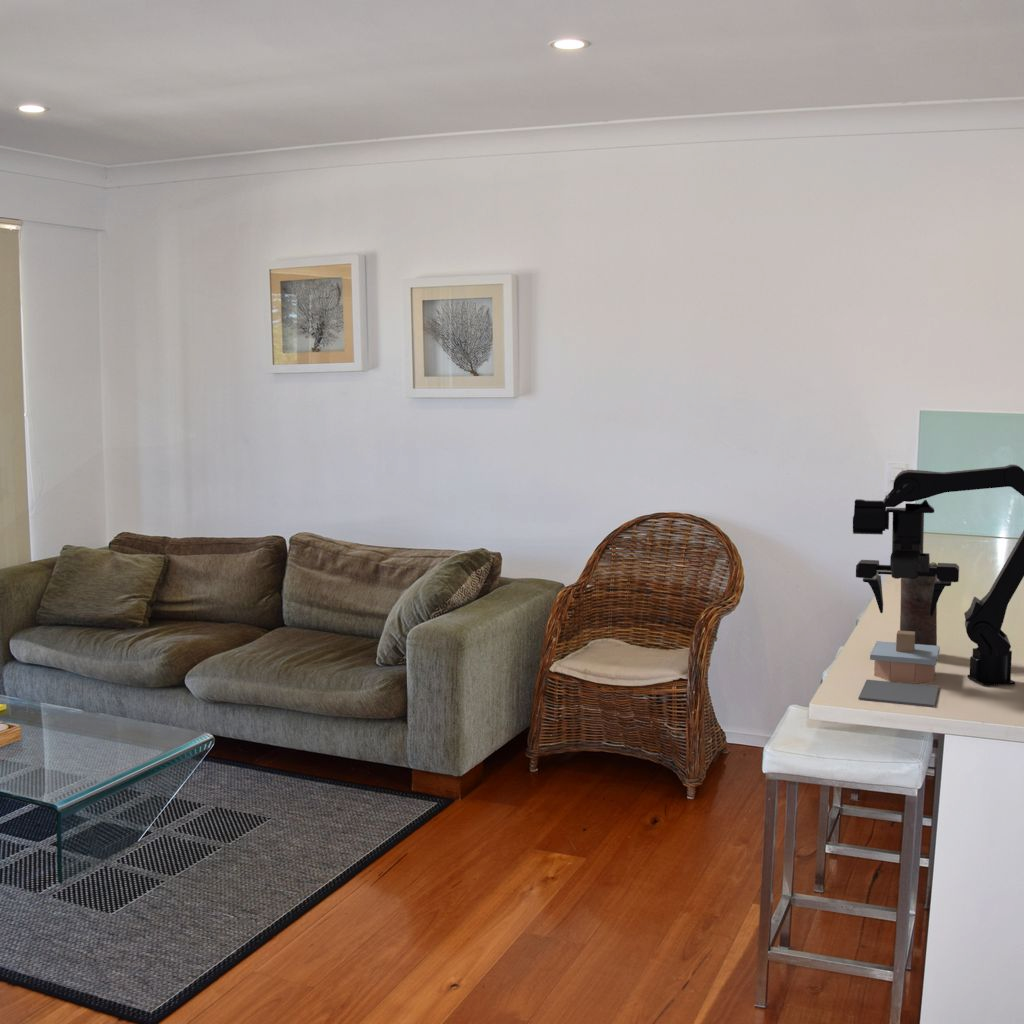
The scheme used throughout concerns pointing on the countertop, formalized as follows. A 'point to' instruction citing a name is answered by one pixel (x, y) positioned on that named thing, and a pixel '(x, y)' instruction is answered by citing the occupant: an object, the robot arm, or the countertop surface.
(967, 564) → the countertop surface
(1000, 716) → the countertop surface
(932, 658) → the lid
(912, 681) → the dish
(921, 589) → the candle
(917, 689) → the mat
